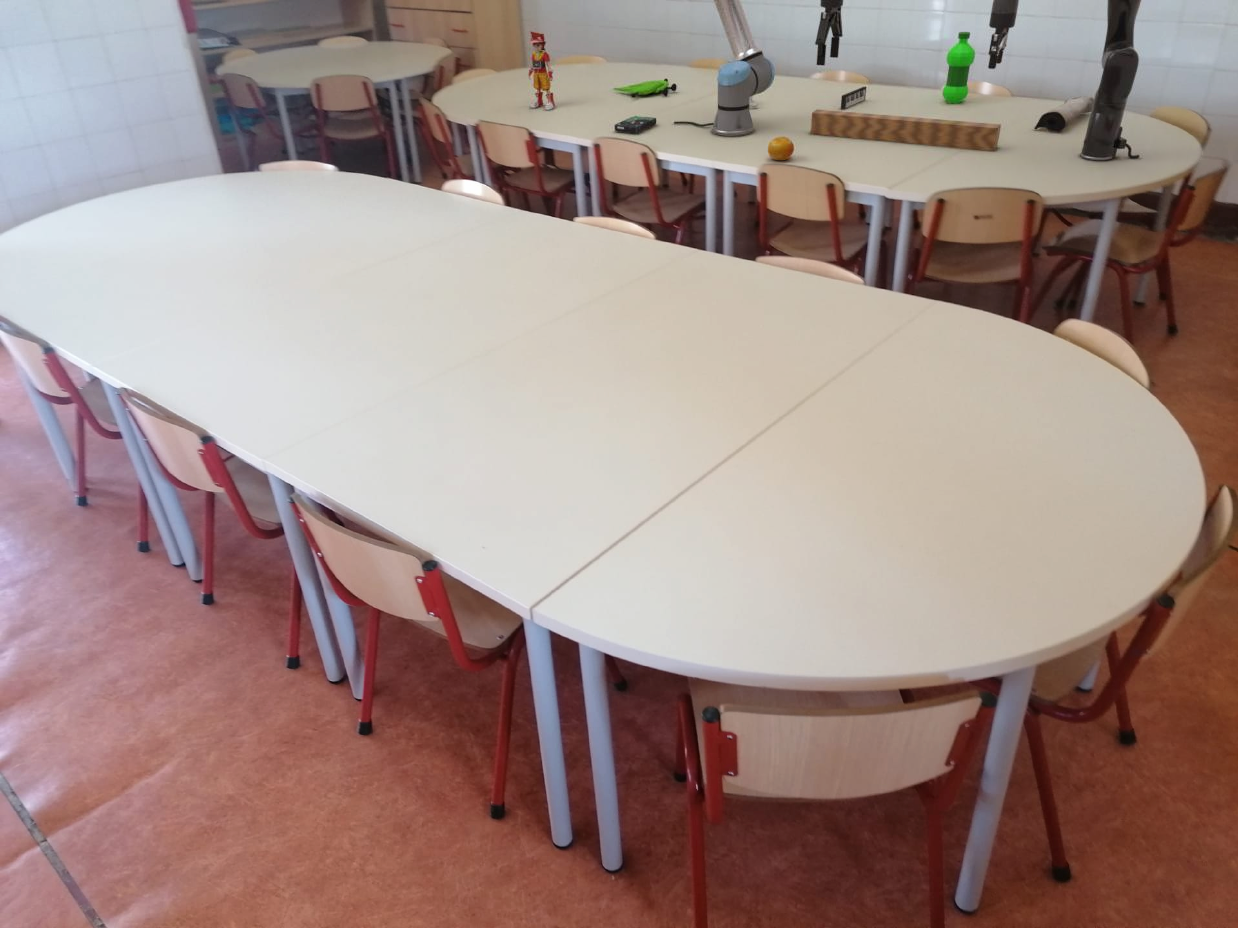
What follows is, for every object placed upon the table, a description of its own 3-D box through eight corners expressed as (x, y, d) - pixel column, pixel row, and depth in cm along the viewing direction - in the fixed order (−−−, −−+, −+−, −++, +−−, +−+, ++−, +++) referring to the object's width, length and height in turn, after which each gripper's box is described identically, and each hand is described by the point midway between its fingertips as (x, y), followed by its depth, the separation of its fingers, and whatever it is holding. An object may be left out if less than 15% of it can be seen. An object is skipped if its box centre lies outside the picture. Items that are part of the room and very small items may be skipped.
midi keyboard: (843, 109, 354) (844, 96, 351) (840, 109, 355) (841, 95, 352) (865, 100, 365) (866, 87, 362) (862, 99, 365) (863, 86, 362)
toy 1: (525, 109, 381) (517, 32, 364) (534, 104, 388) (527, 28, 371) (550, 110, 377) (543, 32, 360) (559, 105, 384) (553, 28, 367)
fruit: (761, 151, 301) (775, 129, 298) (766, 153, 309) (779, 132, 306) (781, 165, 300) (795, 143, 297) (786, 167, 307) (800, 146, 304)
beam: (810, 134, 328) (811, 112, 324) (815, 130, 332) (816, 109, 328) (993, 151, 300) (998, 128, 296) (997, 147, 303) (1001, 124, 299)
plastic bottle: (973, 101, 354) (984, 32, 339) (955, 106, 349) (966, 36, 335) (952, 97, 361) (962, 29, 346) (934, 102, 356) (944, 33, 342)
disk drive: (637, 135, 339) (656, 124, 349) (637, 127, 338) (656, 117, 348) (614, 132, 344) (634, 122, 354) (613, 125, 343) (633, 115, 353)
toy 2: (686, 85, 398) (631, 84, 414) (685, 72, 395) (629, 72, 411) (651, 104, 381) (596, 103, 397) (650, 92, 378) (594, 91, 394)
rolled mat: (1062, 101, 334) (1086, 84, 326) (1075, 122, 335) (1100, 105, 327) (1030, 123, 317) (1055, 105, 309) (1044, 145, 318) (1070, 128, 309)
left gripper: (830, -1, 292) (825, 69, 304) (855, -12, 309) (849, 55, 322) (808, -1, 296) (804, 68, 308) (834, -12, 313) (829, 53, 325)
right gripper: (1012, 14, 273) (1002, 71, 282) (1021, 7, 283) (1011, 62, 292) (986, 13, 277) (977, 70, 286) (996, 6, 286) (987, 61, 296)
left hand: (827, 61), depth 315 cm, fingers open, 13 cm apart
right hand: (994, 66), depth 289 cm, fingers open, 8 cm apart
